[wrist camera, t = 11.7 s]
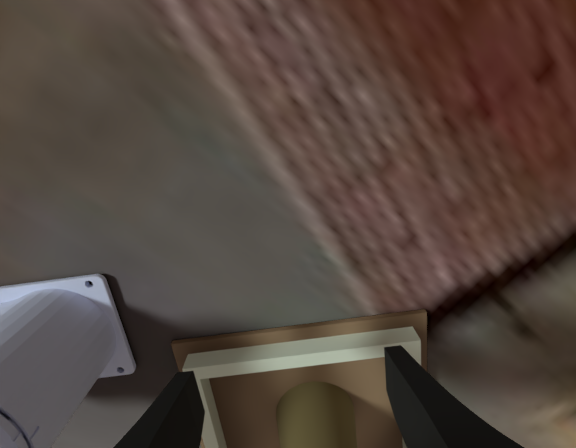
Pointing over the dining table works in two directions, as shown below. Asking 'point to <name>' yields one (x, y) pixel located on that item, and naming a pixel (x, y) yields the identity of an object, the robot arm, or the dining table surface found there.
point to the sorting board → (304, 381)
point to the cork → (316, 417)
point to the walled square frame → (288, 363)
